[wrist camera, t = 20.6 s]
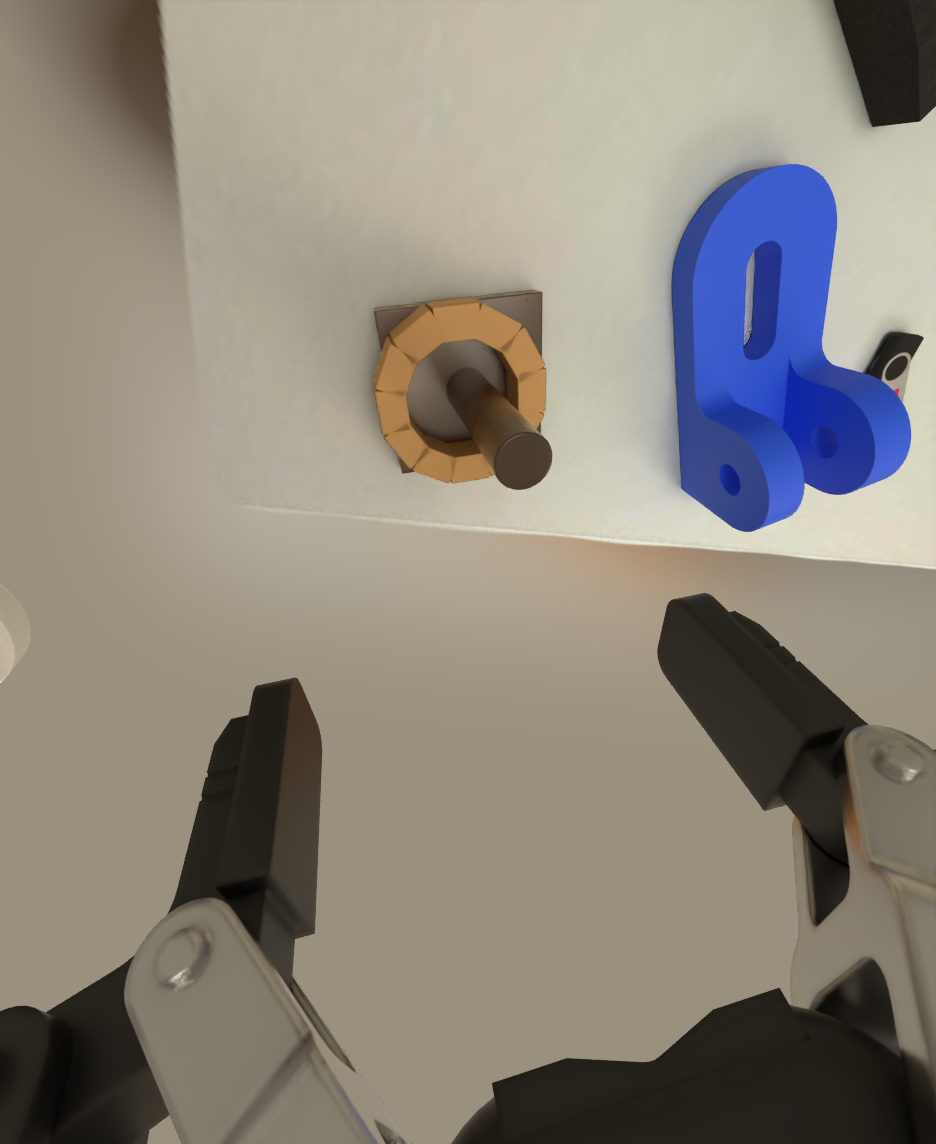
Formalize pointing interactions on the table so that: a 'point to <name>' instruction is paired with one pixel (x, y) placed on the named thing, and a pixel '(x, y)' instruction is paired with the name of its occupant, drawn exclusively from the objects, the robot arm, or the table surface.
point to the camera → (893, 56)
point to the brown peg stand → (477, 394)
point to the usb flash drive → (896, 361)
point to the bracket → (770, 357)
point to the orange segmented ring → (424, 337)
